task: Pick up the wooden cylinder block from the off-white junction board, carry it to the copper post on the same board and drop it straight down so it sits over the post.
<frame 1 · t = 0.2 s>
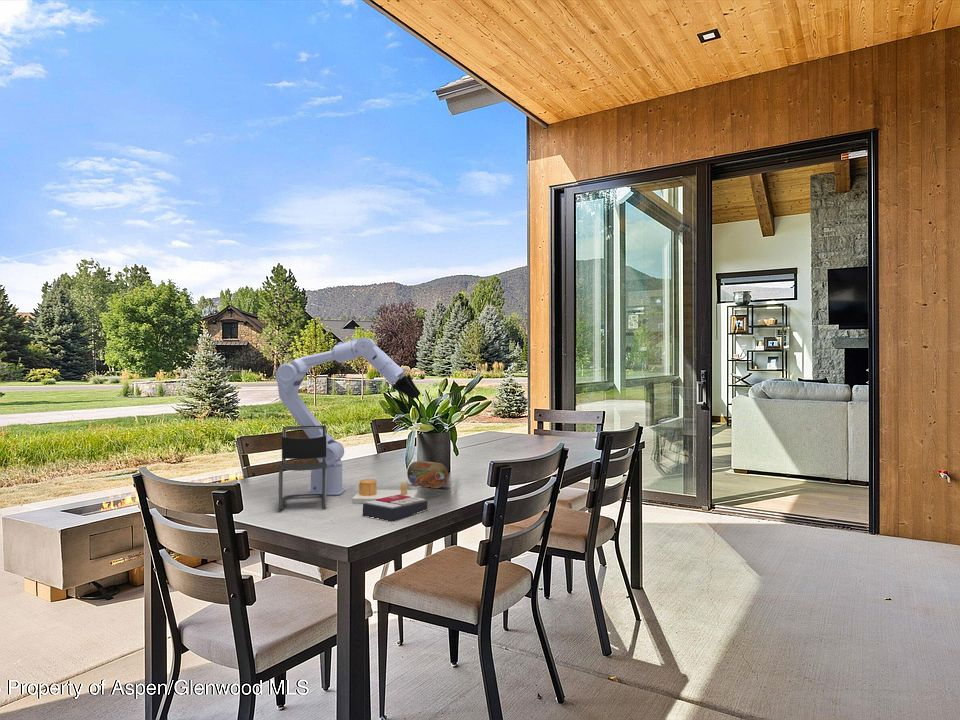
hand: (417, 396, 190), 31 cm above the table, tool tilted 45°, fingers open, 7 cm apart
chair: (303, 504, 176), on the table
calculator: (395, 514, 167), on the table
wooden cylinder block: (367, 493, 183), point 1 cm above the table, touching junction board
junction board: (385, 499, 183), on the table
tin: (427, 487, 201), on the table
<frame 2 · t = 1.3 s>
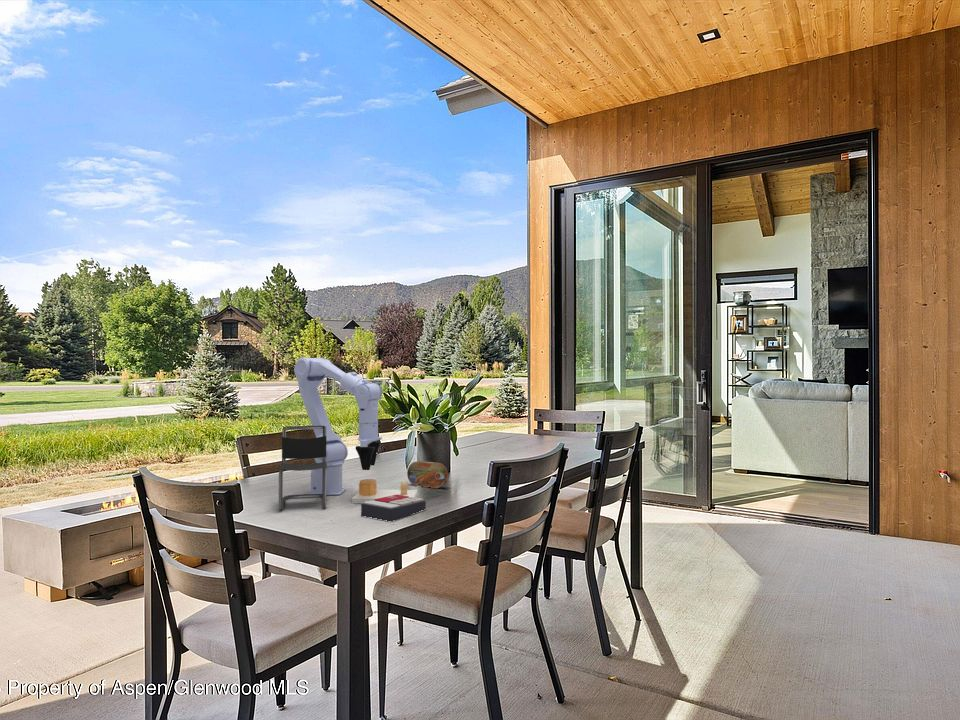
hand: (368, 467, 183), 10 cm above the table, tool pointing down, fingers open, 7 cm apart
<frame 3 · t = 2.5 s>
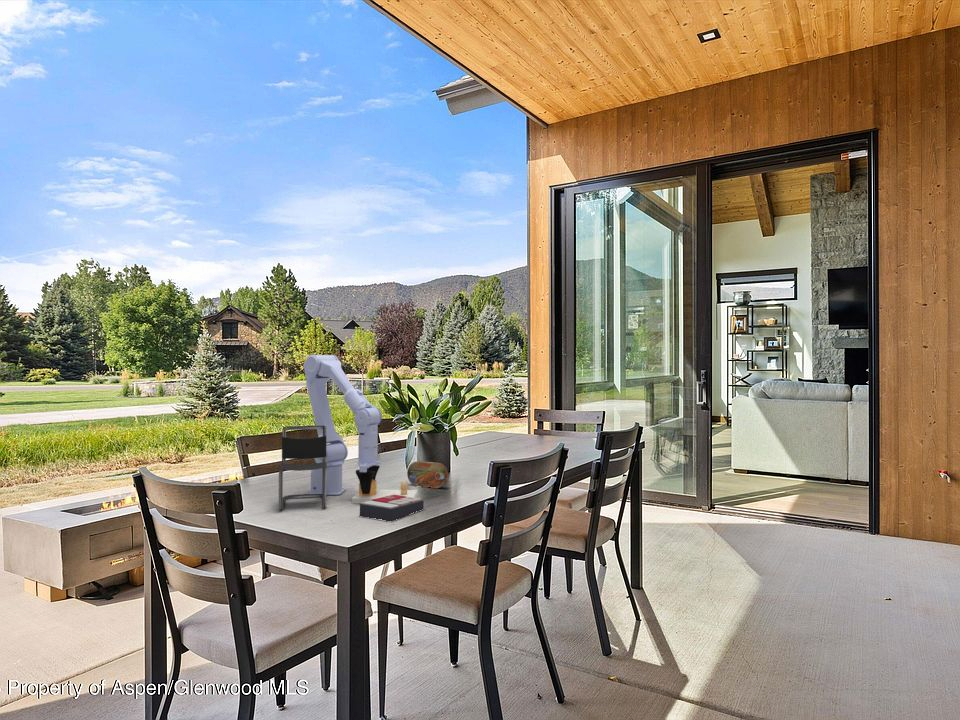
hand: (367, 491, 183), 2 cm above the table, tool pointing down, fingers closed on wooden cylinder block, 5 cm apart
wooden cylinder block: (367, 493, 183), point 2 cm above the table, touching gripper, junction board
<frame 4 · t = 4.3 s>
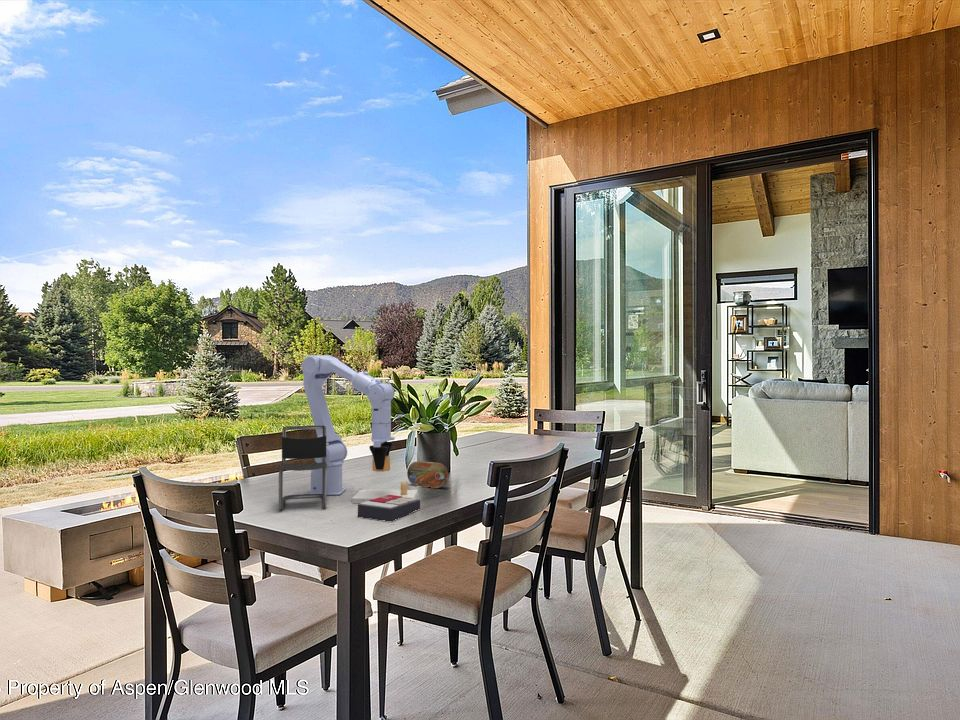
hand: (381, 467, 183), 10 cm above the table, tool pointing down, fingers closed on wooden cylinder block, 5 cm apart
wooden cylinder block: (381, 470, 183), point 9 cm above the table, touching gripper
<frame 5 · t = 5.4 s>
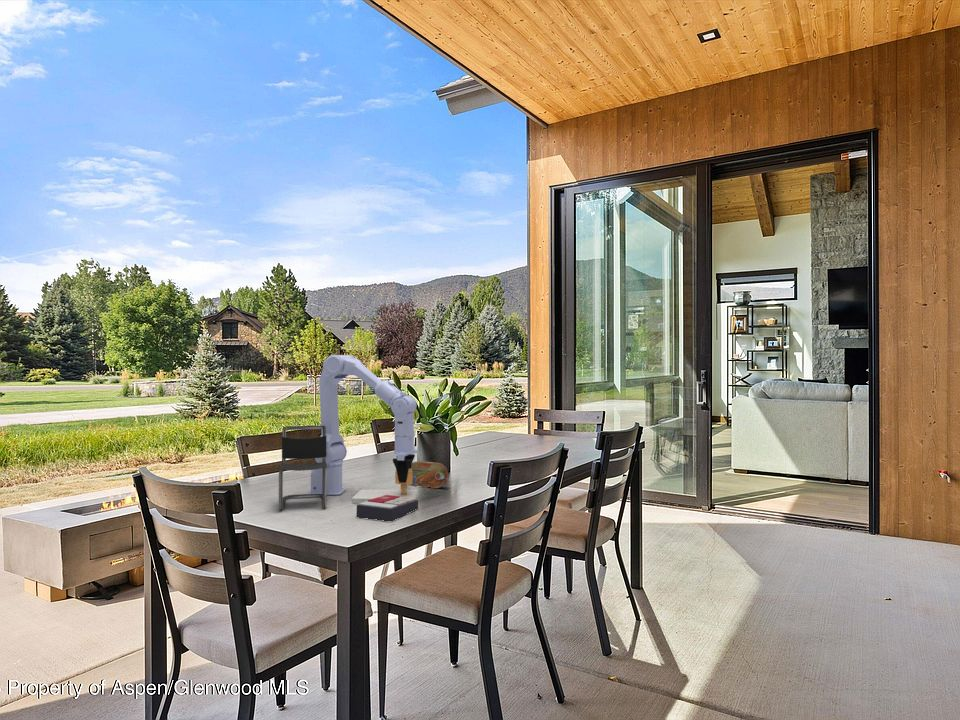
hand: (404, 480, 183), 6 cm above the table, tool pointing down, fingers closed on wooden cylinder block, 5 cm apart
wooden cylinder block: (403, 482, 183), point 5 cm above the table, touching gripper
when the fingers open (5 cm above the table, at t = 6.1 s): wooden cylinder block drops 2 cm, resting on junction board.
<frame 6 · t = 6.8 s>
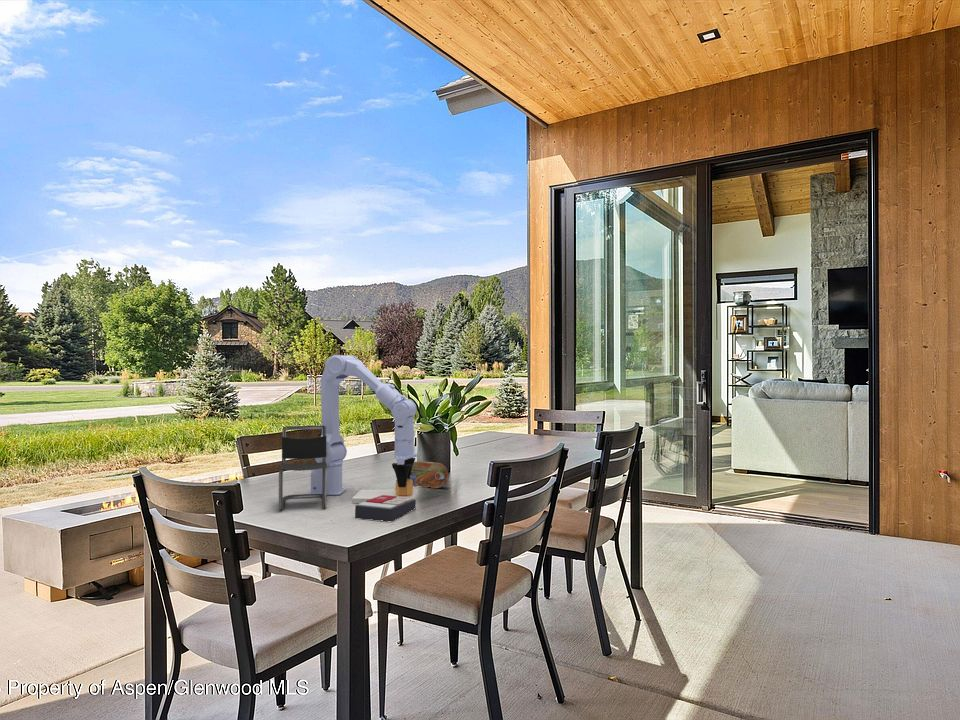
hand: (403, 484, 183), 5 cm above the table, tool pointing down, fingers open, 7 cm apart
wooden cylinder block: (404, 493, 183), point 2 cm above the table, touching junction board
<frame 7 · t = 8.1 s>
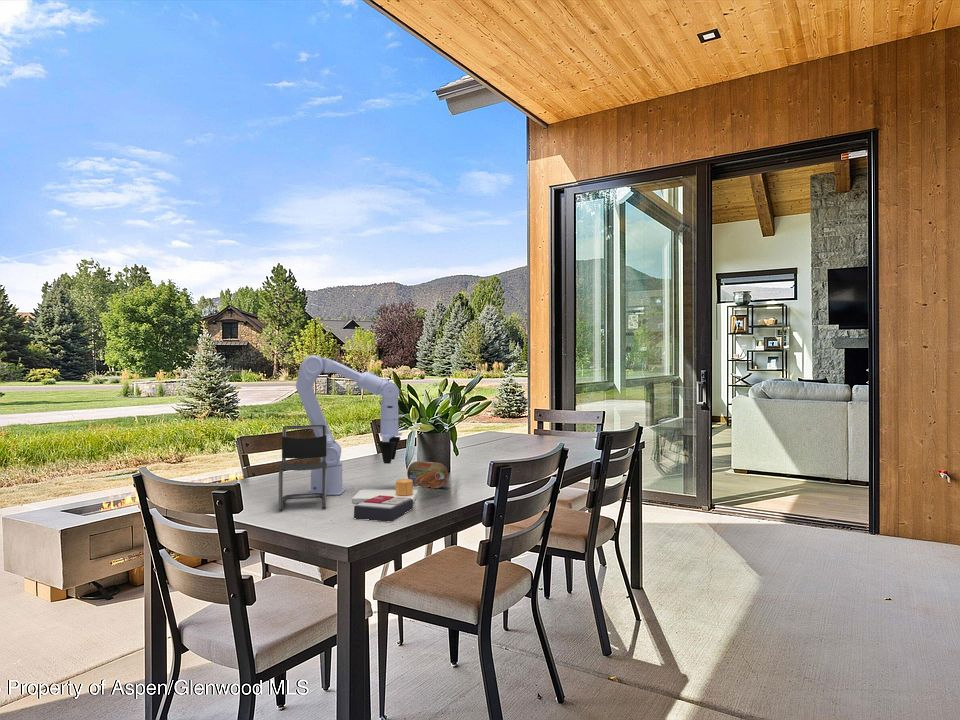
hand: (389, 461, 195), 9 cm above the table, tool pointing down, fingers open, 7 cm apart
chair: (303, 504, 176), on the table, touching arm
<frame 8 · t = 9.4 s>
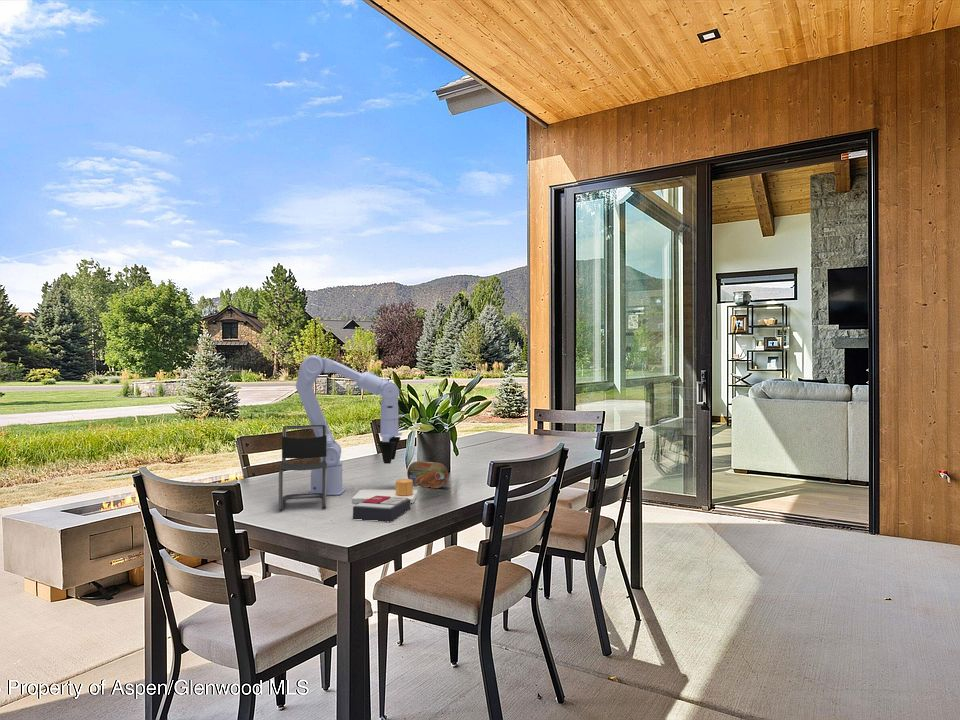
hand: (389, 461, 195), 9 cm above the table, tool pointing down, fingers open, 7 cm apart
at the end: wooden cylinder block 0.1 cm from the target spot on the junction board, point 1.7 cm above the junction board's base; wooden cylinder block tilted 0°; the gripper is holding nothing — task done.
